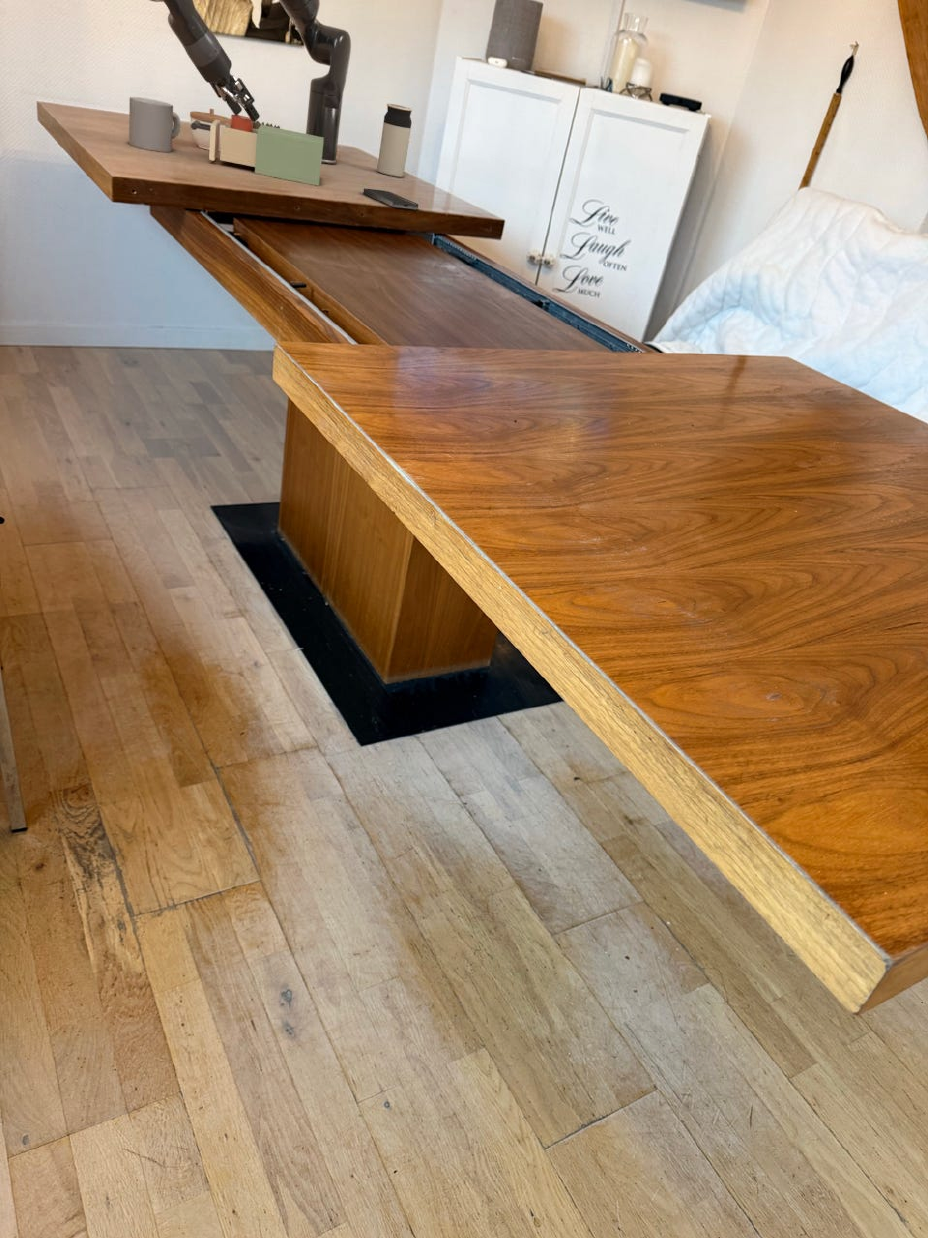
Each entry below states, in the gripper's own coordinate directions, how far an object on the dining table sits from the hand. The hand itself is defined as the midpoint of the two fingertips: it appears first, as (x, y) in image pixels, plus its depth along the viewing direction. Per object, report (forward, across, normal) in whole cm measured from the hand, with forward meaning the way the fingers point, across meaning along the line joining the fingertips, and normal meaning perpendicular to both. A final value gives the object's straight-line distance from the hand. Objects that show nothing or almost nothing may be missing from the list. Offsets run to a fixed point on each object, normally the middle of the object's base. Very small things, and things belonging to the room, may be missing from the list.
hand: (247, 115), depth 223 cm
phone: (+25, -29, -9) cm, 39 cm away
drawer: (+5, +1, +10) cm, 11 cm away
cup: (+21, +21, -4) cm, 30 cm away
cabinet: (+14, -7, +2) cm, 16 cm away
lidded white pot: (+10, +23, +6) cm, 26 cm away
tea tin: (+6, 0, +8) cm, 10 cm away
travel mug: (+48, +13, -31) cm, 59 cm away
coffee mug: (-3, +14, +20) cm, 24 cm away
